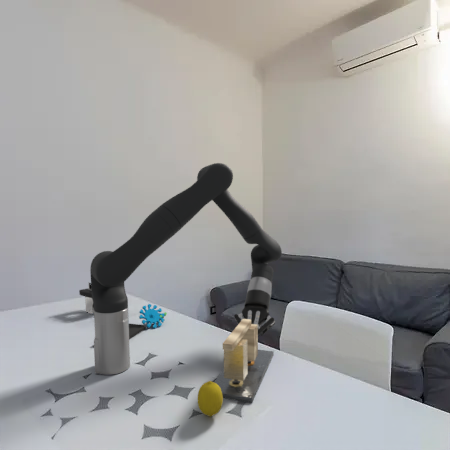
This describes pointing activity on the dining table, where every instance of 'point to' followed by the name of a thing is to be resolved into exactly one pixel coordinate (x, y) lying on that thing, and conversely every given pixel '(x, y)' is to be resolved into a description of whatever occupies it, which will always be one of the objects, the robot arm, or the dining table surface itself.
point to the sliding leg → (244, 332)
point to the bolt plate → (248, 380)
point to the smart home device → (135, 329)
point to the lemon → (210, 398)
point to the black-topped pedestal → (88, 298)
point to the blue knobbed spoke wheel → (152, 316)
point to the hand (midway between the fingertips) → (249, 347)
